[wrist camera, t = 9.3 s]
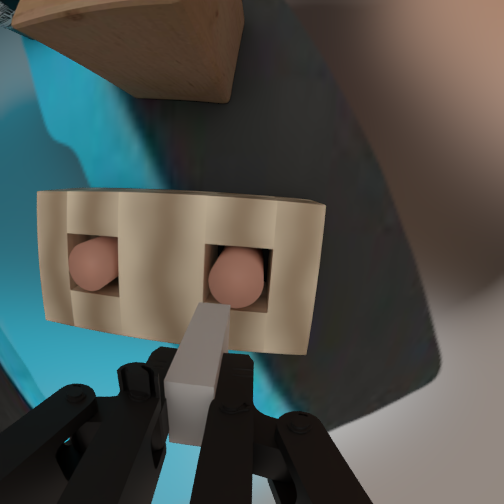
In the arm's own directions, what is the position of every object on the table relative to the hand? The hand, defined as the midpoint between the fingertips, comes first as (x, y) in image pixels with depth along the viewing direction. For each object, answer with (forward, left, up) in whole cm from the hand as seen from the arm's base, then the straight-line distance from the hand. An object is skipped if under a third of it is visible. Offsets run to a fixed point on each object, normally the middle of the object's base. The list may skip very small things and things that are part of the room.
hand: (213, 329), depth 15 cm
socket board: (-6, 0, -17) cm, 18 cm away
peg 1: (-12, 0, -17) cm, 20 cm away
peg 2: (0, 0, -17) cm, 17 cm away
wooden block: (-7, +20, -17) cm, 27 cm away
